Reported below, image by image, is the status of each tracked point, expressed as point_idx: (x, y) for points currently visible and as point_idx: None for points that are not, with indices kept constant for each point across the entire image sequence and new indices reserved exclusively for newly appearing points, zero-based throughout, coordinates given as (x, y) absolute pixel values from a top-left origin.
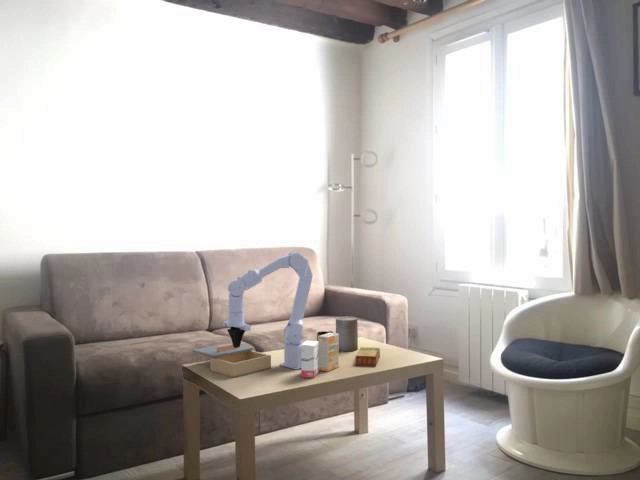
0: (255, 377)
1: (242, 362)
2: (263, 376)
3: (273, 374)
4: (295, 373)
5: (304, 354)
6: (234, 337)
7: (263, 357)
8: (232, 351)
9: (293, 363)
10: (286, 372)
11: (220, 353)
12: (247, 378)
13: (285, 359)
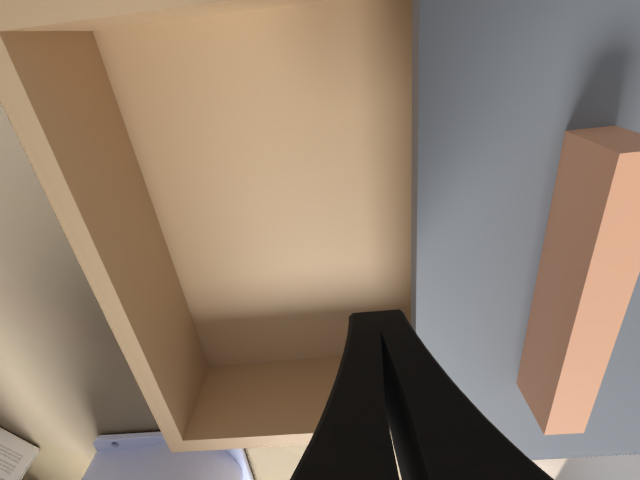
0: (12, 181)
1: (39, 167)
2: (21, 240)
3: (49, 311)
4: (22, 400)
5: None
6: (333, 450)
7: (146, 395)
8: (445, 283)
9: (120, 468)
10: (65, 381)
11: (481, 105)
12: (3, 113)
13: (174, 475)
